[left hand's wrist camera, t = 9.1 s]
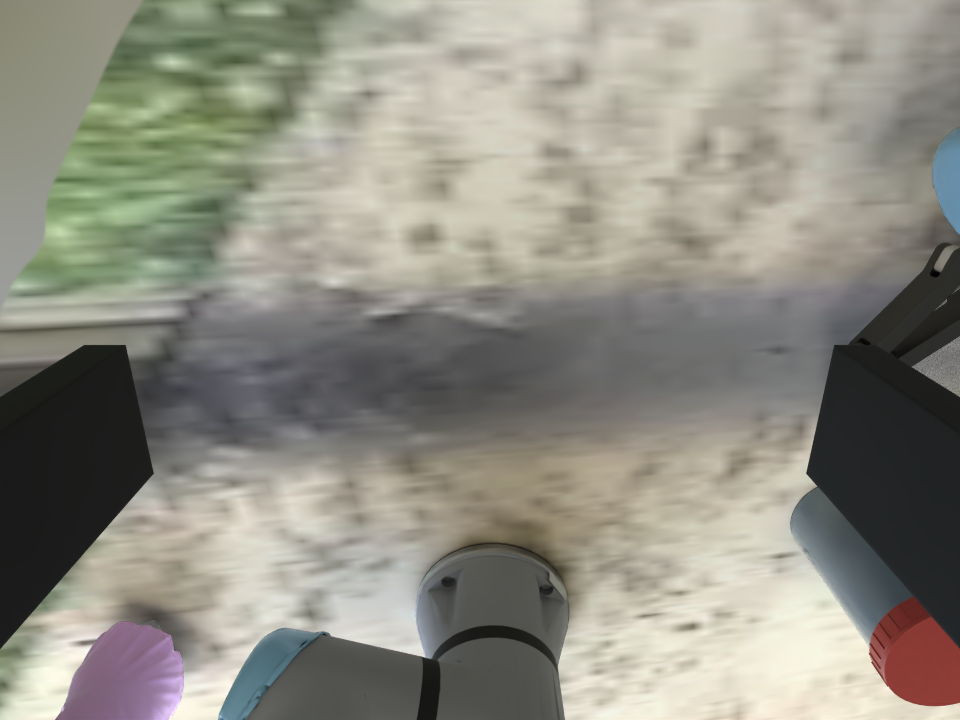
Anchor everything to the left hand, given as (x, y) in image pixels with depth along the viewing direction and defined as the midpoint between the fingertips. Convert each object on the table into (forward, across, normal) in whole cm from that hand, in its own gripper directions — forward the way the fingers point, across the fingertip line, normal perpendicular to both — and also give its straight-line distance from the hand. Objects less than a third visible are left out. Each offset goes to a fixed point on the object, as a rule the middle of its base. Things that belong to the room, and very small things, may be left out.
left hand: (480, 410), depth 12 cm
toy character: (+41, +34, +48) cm, 72 cm away
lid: (+24, -34, +32) cm, 52 cm away
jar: (+40, -34, +31) cm, 61 cm away
